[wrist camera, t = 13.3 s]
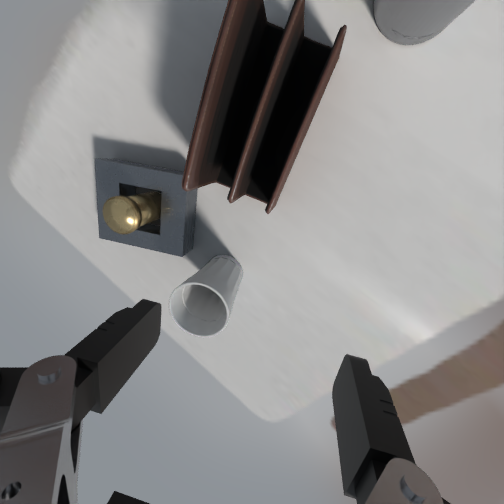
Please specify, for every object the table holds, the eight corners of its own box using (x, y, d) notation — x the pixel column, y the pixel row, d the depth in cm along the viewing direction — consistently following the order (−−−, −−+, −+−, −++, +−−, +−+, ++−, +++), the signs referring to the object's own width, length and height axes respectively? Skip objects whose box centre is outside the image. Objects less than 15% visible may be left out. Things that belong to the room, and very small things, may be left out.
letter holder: (214, 180, 39) (170, 190, 26) (264, 23, 31) (237, -75, 18) (275, 206, 38) (262, 230, 25) (340, 54, 31) (369, -23, 18)
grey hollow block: (113, 158, 40) (94, 158, 36) (198, 174, 39) (187, 176, 35) (116, 231, 44) (99, 237, 41) (192, 248, 43) (182, 256, 39)
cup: (194, 259, 44) (157, 292, 32) (235, 243, 41) (211, 274, 30) (214, 298, 45) (186, 343, 34) (255, 285, 43) (239, 329, 32)
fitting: (141, 186, 41) (99, 193, 33) (170, 192, 40) (136, 200, 32) (140, 217, 43) (101, 230, 34) (169, 223, 42) (136, 238, 34)
